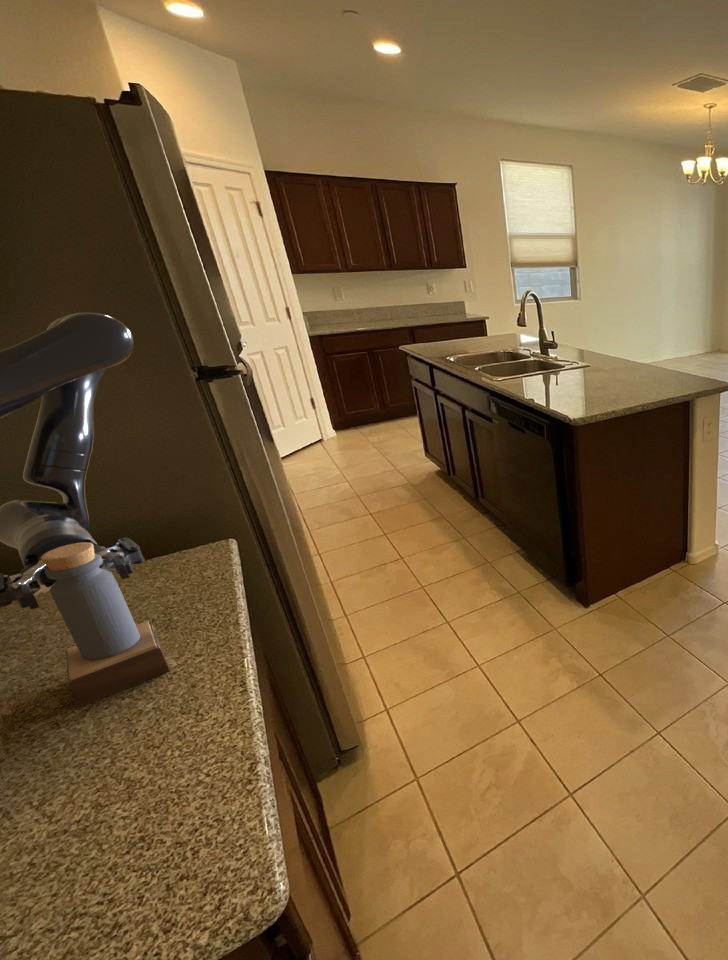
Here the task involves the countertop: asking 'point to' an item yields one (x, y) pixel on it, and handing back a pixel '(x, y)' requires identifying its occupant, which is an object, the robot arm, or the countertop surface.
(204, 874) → the countertop surface
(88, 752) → the countertop surface
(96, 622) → the bottle
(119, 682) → the stand
